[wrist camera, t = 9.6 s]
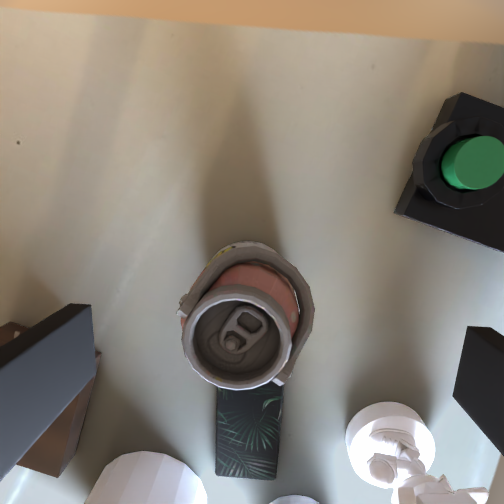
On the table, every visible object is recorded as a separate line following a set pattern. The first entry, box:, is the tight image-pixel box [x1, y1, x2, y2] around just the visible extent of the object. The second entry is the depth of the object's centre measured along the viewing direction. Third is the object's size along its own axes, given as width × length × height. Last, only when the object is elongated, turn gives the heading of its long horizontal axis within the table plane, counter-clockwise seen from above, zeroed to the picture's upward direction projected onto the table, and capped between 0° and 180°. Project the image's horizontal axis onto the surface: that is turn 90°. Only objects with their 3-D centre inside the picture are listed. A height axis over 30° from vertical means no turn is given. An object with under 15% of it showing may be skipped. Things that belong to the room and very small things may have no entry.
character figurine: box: [345, 402, 489, 504], centre depth 27 cm, size 9×10×12 cm
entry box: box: [394, 92, 504, 253], centre depth 25 cm, size 10×11×4 cm
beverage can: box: [176, 241, 315, 390], centre depth 24 cm, size 9×8×12 cm
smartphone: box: [215, 380, 284, 480], centre depth 33 cm, size 7×1×15 cm
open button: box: [441, 136, 504, 189], centre depth 23 cm, size 4×4×2 cm
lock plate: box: [0, 322, 101, 478], centre depth 32 cm, size 16×11×3 cm
